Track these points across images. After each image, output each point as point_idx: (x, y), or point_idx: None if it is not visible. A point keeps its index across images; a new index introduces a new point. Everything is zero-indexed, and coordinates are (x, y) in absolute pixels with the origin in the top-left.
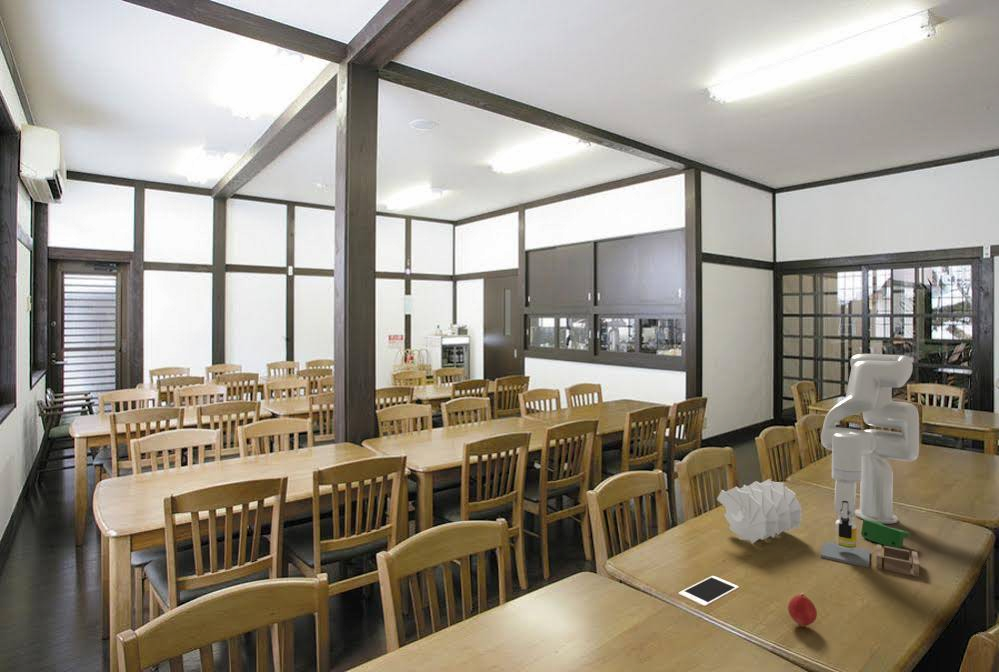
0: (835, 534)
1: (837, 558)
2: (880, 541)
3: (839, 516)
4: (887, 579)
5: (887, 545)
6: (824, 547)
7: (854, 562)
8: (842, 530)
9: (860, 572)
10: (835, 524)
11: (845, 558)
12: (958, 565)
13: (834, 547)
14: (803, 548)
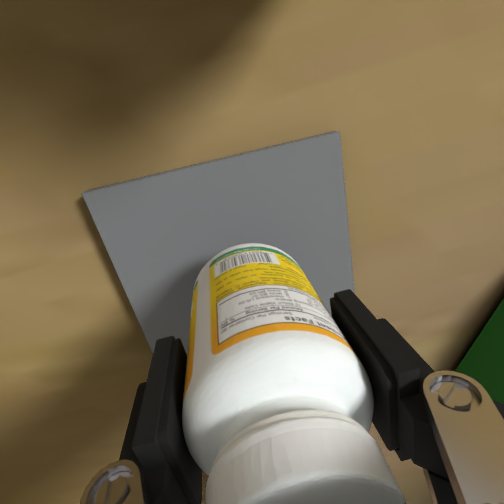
0: (224, 283)
1: (119, 276)
2: (494, 334)
3: (233, 489)
4: (111, 443)
5: (470, 355)
6: (228, 171)
7: (148, 340)
8: (132, 417)
9: (82, 372)
10: (239, 336)
11: (156, 302)
12: (416, 497)
13: (275, 213)
14: (144, 49)
